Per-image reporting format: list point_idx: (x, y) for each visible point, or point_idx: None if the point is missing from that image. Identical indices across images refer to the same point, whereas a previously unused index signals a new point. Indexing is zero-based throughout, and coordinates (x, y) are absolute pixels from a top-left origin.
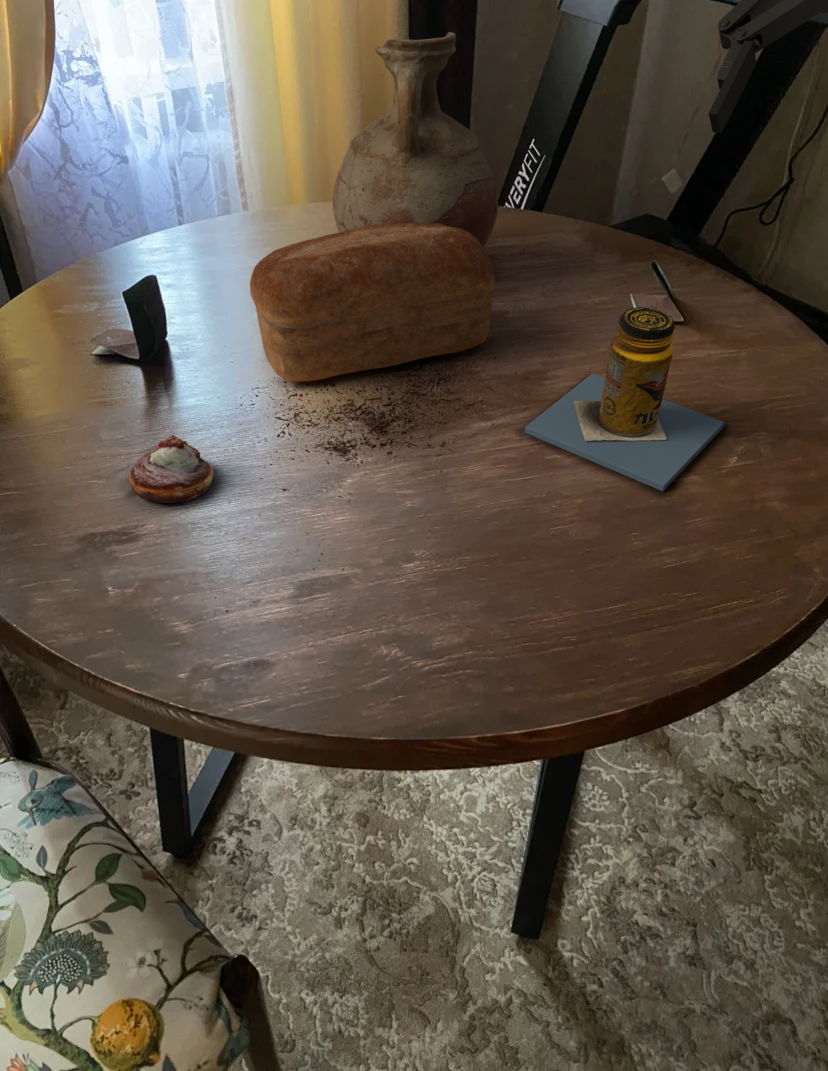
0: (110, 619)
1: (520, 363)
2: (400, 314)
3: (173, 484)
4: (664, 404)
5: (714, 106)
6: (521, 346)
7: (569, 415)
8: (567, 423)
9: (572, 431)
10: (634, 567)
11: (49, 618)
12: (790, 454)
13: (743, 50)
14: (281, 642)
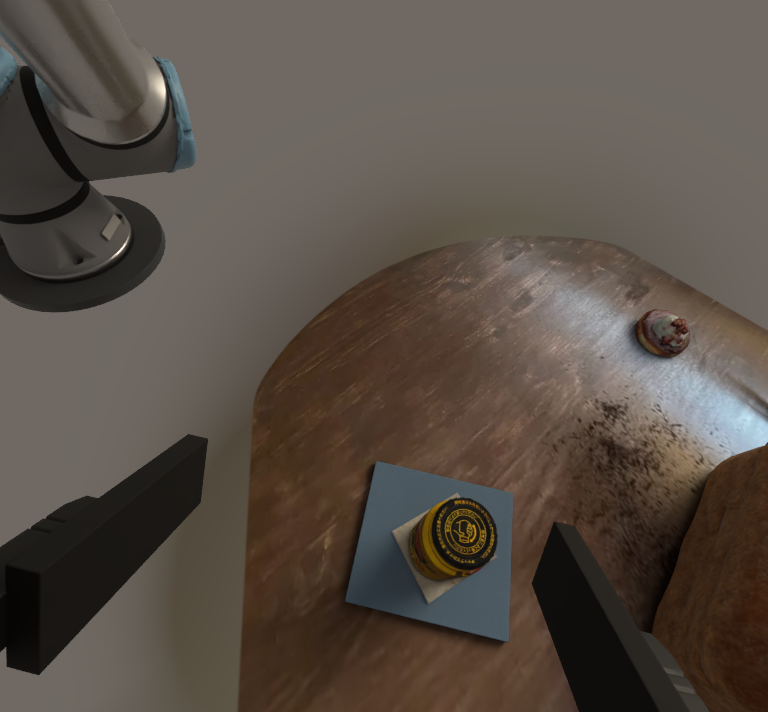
0: (584, 256)
1: None
2: (725, 540)
3: (648, 315)
4: (412, 606)
5: (575, 537)
6: None
7: None
8: None
9: None
10: (372, 376)
11: (605, 249)
12: (273, 581)
13: (668, 696)
14: (510, 269)
